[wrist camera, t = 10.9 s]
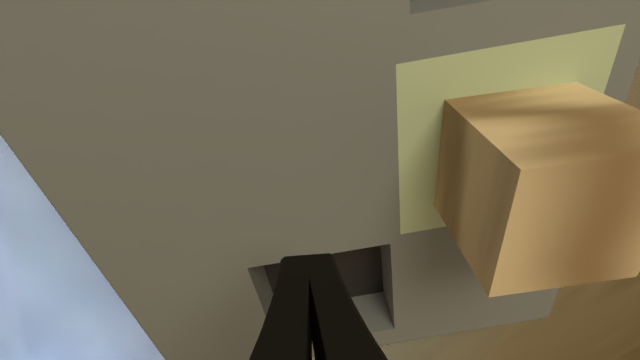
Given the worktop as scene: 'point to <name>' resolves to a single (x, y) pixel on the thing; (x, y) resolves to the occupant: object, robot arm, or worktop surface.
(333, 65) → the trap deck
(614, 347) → the worktop surface
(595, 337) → the worktop surface
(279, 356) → the robot arm
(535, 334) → the worktop surface
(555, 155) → the maple block
